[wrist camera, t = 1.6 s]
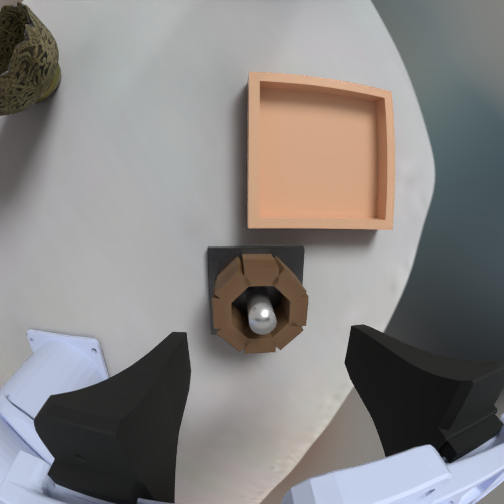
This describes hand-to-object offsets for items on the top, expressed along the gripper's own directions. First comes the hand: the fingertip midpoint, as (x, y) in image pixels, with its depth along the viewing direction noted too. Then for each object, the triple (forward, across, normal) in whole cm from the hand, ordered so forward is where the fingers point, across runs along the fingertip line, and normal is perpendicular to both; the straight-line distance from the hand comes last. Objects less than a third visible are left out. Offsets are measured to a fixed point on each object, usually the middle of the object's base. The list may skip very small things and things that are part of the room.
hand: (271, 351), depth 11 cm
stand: (+7, 0, 0) cm, 7 cm away
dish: (+7, -4, -9) cm, 12 cm away
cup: (+8, +16, -16) cm, 24 cm away
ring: (+7, 0, 0) cm, 7 cm away
